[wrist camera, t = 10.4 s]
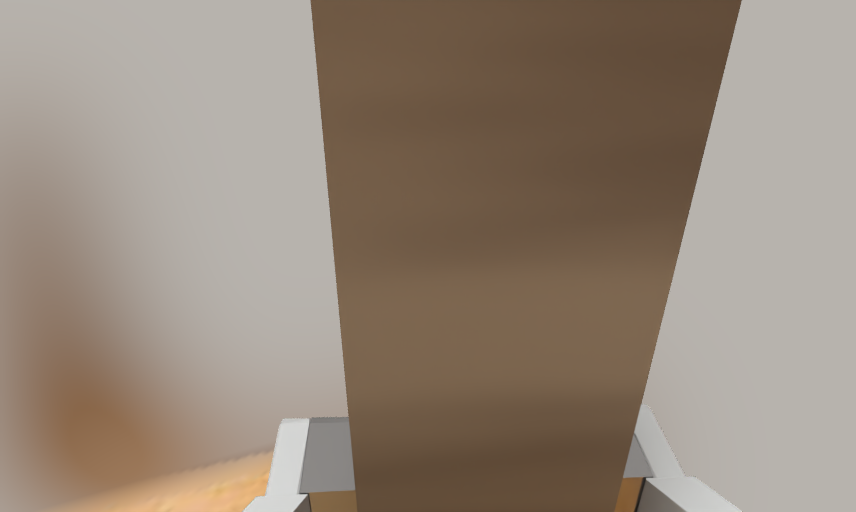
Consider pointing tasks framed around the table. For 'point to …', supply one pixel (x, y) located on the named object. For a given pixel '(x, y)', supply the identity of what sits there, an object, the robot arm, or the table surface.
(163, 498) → the table surface
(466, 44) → the wooden block
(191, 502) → the table surface
